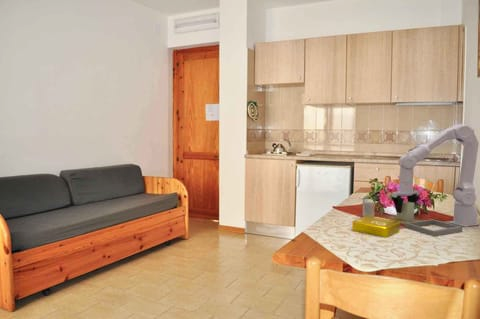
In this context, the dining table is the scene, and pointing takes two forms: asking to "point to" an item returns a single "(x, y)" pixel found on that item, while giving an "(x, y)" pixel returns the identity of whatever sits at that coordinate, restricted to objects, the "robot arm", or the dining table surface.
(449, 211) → the dining table surface
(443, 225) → the grey flat square frame
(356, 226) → the element tile
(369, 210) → the medicine box
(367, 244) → the dining table surface
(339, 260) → the dining table surface
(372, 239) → the dining table surface
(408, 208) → the parts box
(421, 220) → the walnut board
